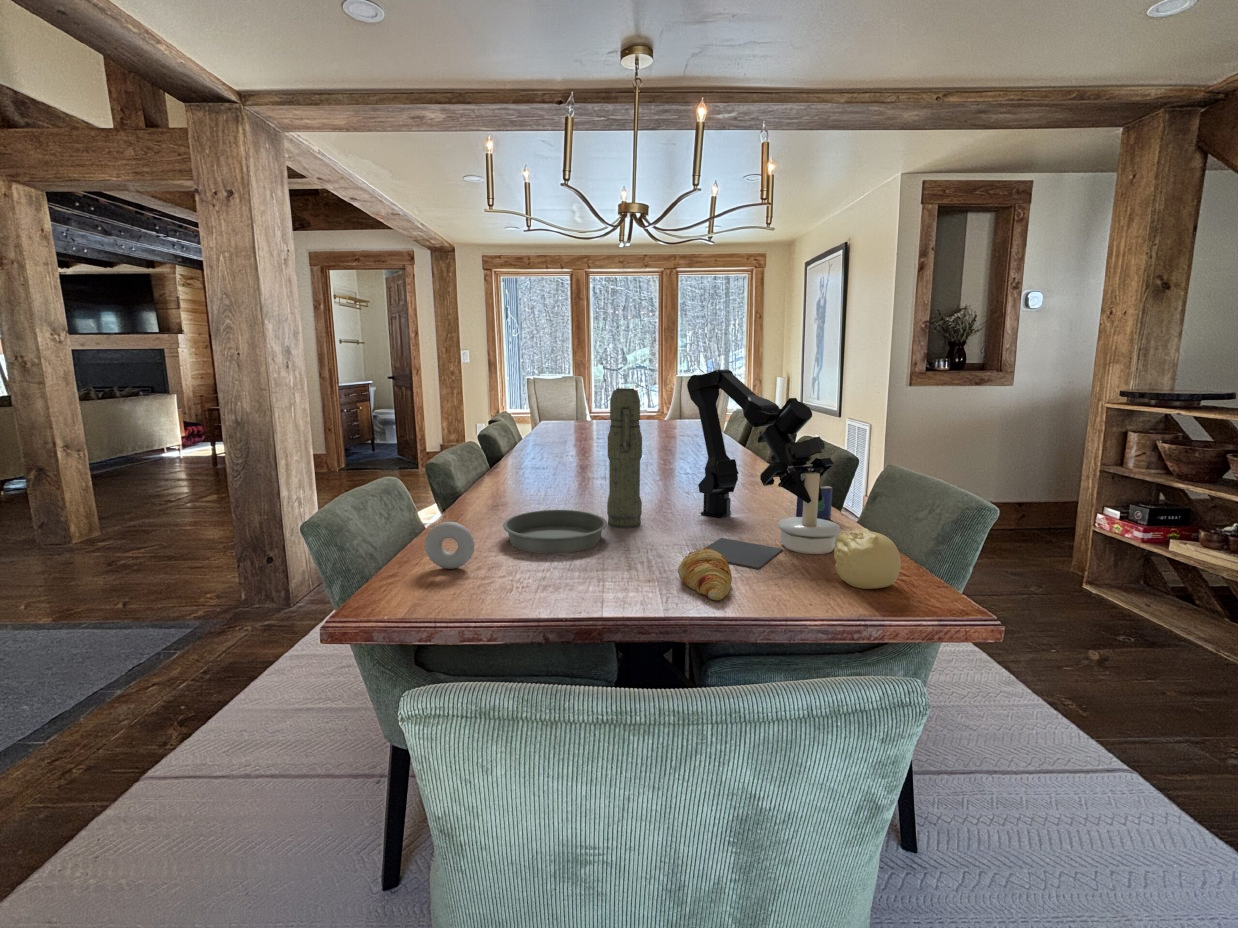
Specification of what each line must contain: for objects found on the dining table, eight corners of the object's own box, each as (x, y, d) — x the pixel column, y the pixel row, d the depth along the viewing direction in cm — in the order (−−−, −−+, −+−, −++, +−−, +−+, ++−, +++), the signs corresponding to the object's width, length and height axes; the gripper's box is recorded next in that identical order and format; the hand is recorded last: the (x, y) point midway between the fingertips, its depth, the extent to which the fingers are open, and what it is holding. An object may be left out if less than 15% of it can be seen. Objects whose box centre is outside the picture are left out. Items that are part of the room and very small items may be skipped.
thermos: (636, 516, 168) (637, 387, 162) (645, 528, 157) (647, 390, 151) (604, 517, 167) (604, 387, 161) (610, 530, 155) (611, 390, 149)
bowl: (775, 548, 141) (775, 533, 140) (791, 536, 151) (792, 522, 150) (826, 558, 135) (827, 542, 134) (840, 544, 144) (841, 529, 144)
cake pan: (542, 564, 131) (541, 544, 130) (484, 538, 149) (483, 520, 148) (628, 541, 147) (628, 523, 146) (566, 520, 165) (566, 504, 164)
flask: (829, 518, 168) (831, 479, 166) (832, 521, 165) (834, 481, 163) (794, 517, 168) (796, 479, 166) (797, 520, 165) (799, 481, 163)
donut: (424, 571, 126) (421, 524, 124) (428, 565, 129) (426, 519, 127) (473, 571, 126) (471, 523, 124) (476, 565, 129) (475, 519, 127)
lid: (784, 536, 136) (787, 479, 134) (773, 519, 149) (776, 467, 147) (847, 537, 135) (852, 480, 133) (831, 521, 148) (835, 468, 146)
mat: (693, 556, 136) (693, 554, 136) (721, 539, 148) (721, 537, 148) (758, 569, 128) (758, 567, 128) (782, 550, 140) (782, 548, 140)
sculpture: (824, 572, 126) (828, 521, 124) (884, 573, 126) (888, 522, 124) (842, 594, 115) (847, 538, 113) (908, 595, 114) (913, 539, 112)
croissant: (734, 622, 111) (756, 584, 110) (686, 600, 109) (708, 561, 108) (703, 578, 131) (721, 545, 130) (662, 558, 129) (681, 525, 128)
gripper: (771, 427, 137) (806, 485, 129) (830, 423, 146) (866, 477, 138) (746, 457, 145) (777, 513, 137) (803, 451, 154) (835, 503, 147)
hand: (815, 501), depth 140 cm, fingers closed on lid, 3 cm apart
